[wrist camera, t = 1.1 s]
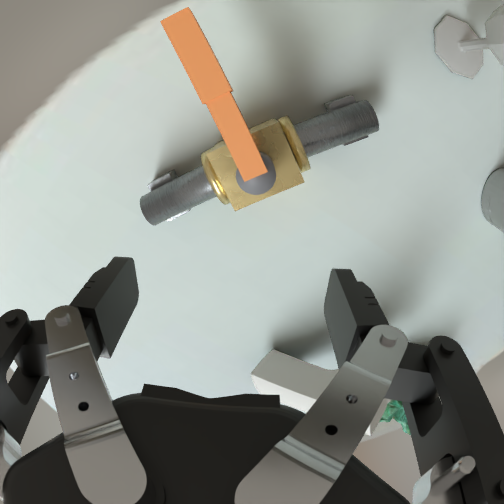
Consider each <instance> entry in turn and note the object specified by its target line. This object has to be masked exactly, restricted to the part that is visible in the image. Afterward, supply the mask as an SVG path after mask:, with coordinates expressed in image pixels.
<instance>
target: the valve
mask: <svg viewBox="0 0 504 504" xmlns="http://www.w3.org/2000/svg"><path fill="white" fill-rule="evenodd" d="M324 105H325V107H326V110H327V113H325V114H322V115H319V116H317V117H314V118H311V119H309V120H306V121H303V122H301V123H298V124H296V125H293V124H292V122H291V121H290V119H289V117H288V116H284V117H282V118H279V119H277V120H278V121H276V120H275V119H274V118H273V119H271V120H268V121H266V122H264V123H261V124H259V125H256V126H254V127H252V128H250V129H249V131H250V133H251V135H252V137H253V139H254V141H255V143H256V146H257V148H258V150H259V151H261V152H264V153H266V154H267V155H268V156H269V157H270V158H271V159H272V161H273V164H274V167H275V171H276V181H275V183H274V185H273V187H272V188H271V189H270V190H269V191H267V192H266V193H264V194H260V195H252V194H249V193H246V192H245V191H243V190H242V189H241V188H240V187H239V185H238V183H237V180H236V171H237V166H236V164H235V162H234V160H233V157H232V155H231V153H230V151H229V149H228V147H227V145H226V143H225V141H224V140H223V141H221V142H219V143H217V144H216V145H215V146H214V147H213V148H212V149H209V150H207V151H205V152H203V153H202V154H201V161H202V166H200V167H198V168H196V169H194V170H192V171H190V172H188V173H186V174H184V175H182V176H180V177H177V175H176V173H175V171H174V170H172V171H170V172H168V173H166V174H164V175H162V176H161V177H159V178H157V179H155V180H153V181H152V182H151V183H149V184H148V185H147V186H148V187H149V189H150V191H151V192H150V193H148V194H146V195H144V196H142V197H141V199H140V207H141V210H142V213H143V215H144V217H145V218H146V220H147V221H148V222H149V223H150V224H152V225H157V224H159V223H161V222H163V221H165V220H167V221H170V220H172V219H174V218H176V217H178V216H181V215H183V214H185V213H187V212H189V211H190V209H191V208H192V207H194V206H197V205H199V204H201V203H203V202H205V201H207V200H210V199H212V198H214V197H216V196H217V197H218V199H219V200H220V201H221V202H222V203H223V204H225V205H226V204H228V203H231V204H232V206H233V208H234V210H235V211H237V210H239V209H241V208H244V207H246V206H248V205H251V204H253V203H255V202H258V201H260V200H262V199H265V198H267V197H270V196H272V195H274V194H277V193H279V192H282V191H284V190H287V189H289V188H291V187H294V186H296V185H299V184H301V183H304V180H303V177H302V175H301V173H302V172H304V171H307V170H309V169H310V164H309V161H308V157H310V156H313V155H315V154H318V153H320V152H323V151H326V150H328V149H331V148H333V147H336V146H339V145H341V144H342V145H344V146H345V145H348V144H351V143H353V142H356V141H359V140H362V139H364V138H367V137H368V135H369V134H372V133H374V132H377V131H378V130H379V123H378V119H377V116H376V113H375V111H374V109H373V108H372V106H371V105H370V103H369V102H368V101H367V100H362V101H359V102H355V99H354V97H353V95H348V96H344V97H341V98H339V99H336V100H333V101H330V102H327V103H324ZM300 172H301V173H300Z"/></svg>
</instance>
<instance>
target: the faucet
mask: <svg viewBox="0 0 504 504" xmlns="http://www.w3.org/2000/svg"><path fill="white" fill-rule="evenodd" d="M338 371H339V369H336V370H327V369H323V368H321V367H318V366H315V365H313V364H310V363H307V362H305V361H302V360H299V359H297V358H294V357H292V356H289V355H287V354H284V353H281V352H279V351H276V350H274V349H272V350H271V351H270V352H269V353H268V354H267V355H266V356H265V357H264V358H263V359H262V360H261V361H260V363H259V364H258V365H257V366H256V367H255V369H254V370H253V371H252V373H251V377H252V380H253V383H254V385H255V387H256V389H257V391H258V392H259V393H260V394H266V395H280V403H282V404H285V405H288V406H290V407H293V408H296V409H298V410H301V411H304V412H308V410H309V409H310V408H311V407H312V405H313V404H314V403H315V402H316V400H317V399H318V398H319V397H320V395H321V394H322V393H323V391H324V390H325V389H326V387H327V386H328V385H329V383H330V382H331V381H332V379H333V378H334V377H335V375H336V374H337V372H338ZM390 401H391V399H386V398H384V399H383V401H382V403H381V405H380V407H379V409H378V410H377V412H376V414H375V416H374V418H373V420H372V422H371V423H370V425H369V427H368V429H367V430H366V432H365V434H367V435H370V436H371V435H372V433H373V432H374V430H375V428H376V427H377V425H378V423H379V421H380V419H381V417H382V415H383V413H384V411H385V409H386V407H387V404H388V403H389V402H390Z"/></svg>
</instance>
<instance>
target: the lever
mask: <svg viewBox="0 0 504 504" xmlns="http://www.w3.org/2000/svg"><path fill="white" fill-rule="evenodd" d="M160 22H161V24H162V26H163V28H164V30H165V32H166V33H167V35H168V37H169V39H170V41H171V43H172V45H173V47H174V49H175V51H176V53H177V55H178V57H179V58H180V60H181V62H182V64H183V66H184V68H185V70H186V72H187V74H188V76H189V78H190V80H191V82H192V84H193V86H194V88H195V90H196V92H197V94H198V96H199V98H200V100H201V102H202V104H206V105H207V107H208V109H209V111H210V113H211V115H212V117H213V119H214V121H215V123H216V125H217V127H218V129H219V131H220V133H221V135H222V137H223V139H224V141H225V143H226V145H227V147H228V149H229V151H230V153H231V155H232V157H233V160H234V162H235V164H236V166H237V171H236V180H237V183H238V185H239V187H240V188H241V189H242V190H243V191H245V192H246V193H249V194H252V195H260V194H264V193H266V192H267V191H269V190H270V189H271V188H272V187H273V185H274V183H275V181H276V171H275V167H274V164H273V161H272V159H271V158H270V157H269V156H268V155H267V154H266V153H264V152H261V151H259V150H258V148H257V146H256V143H255V141H254V139H253V137H252V135H251V133H250V131H249V129H248V126H247V124H246V122H245V120H244V118H243V116H242V114H241V112H240V110H239V108H238V106H237V104H236V102H235V100H234V98H233V96H232V94H231V92H232V91H233V90H232V88H231V86H230V84H229V82H228V80H227V78H226V76H225V74H224V72H223V70H222V68H221V66H220V64H219V62H218V60H217V58H216V56H215V54H214V52H213V50H212V48H211V46H210V45H209V43H208V41H207V39H206V37H205V35H204V33H203V31H202V29H201V28H200V26H199V24H198V22H197V20H196V18H195V17H194V15H193V13H192V11H191V10H190V9H189V7H187V8H185V9H183V10H181V11H179V12H177V13H175V14H173V15H171V16H169V17H167V18H165V19H164V20H162V21H160Z"/></svg>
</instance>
